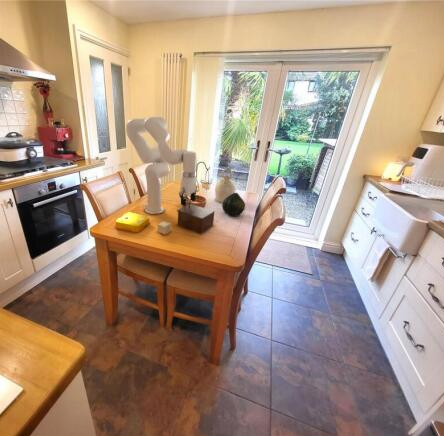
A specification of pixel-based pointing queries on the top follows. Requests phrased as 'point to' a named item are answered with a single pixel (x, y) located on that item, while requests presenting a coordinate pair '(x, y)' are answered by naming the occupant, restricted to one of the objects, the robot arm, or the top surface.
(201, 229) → the chest
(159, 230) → the block
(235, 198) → the squash
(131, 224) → the element tile
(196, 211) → the lid
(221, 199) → the cream vase
